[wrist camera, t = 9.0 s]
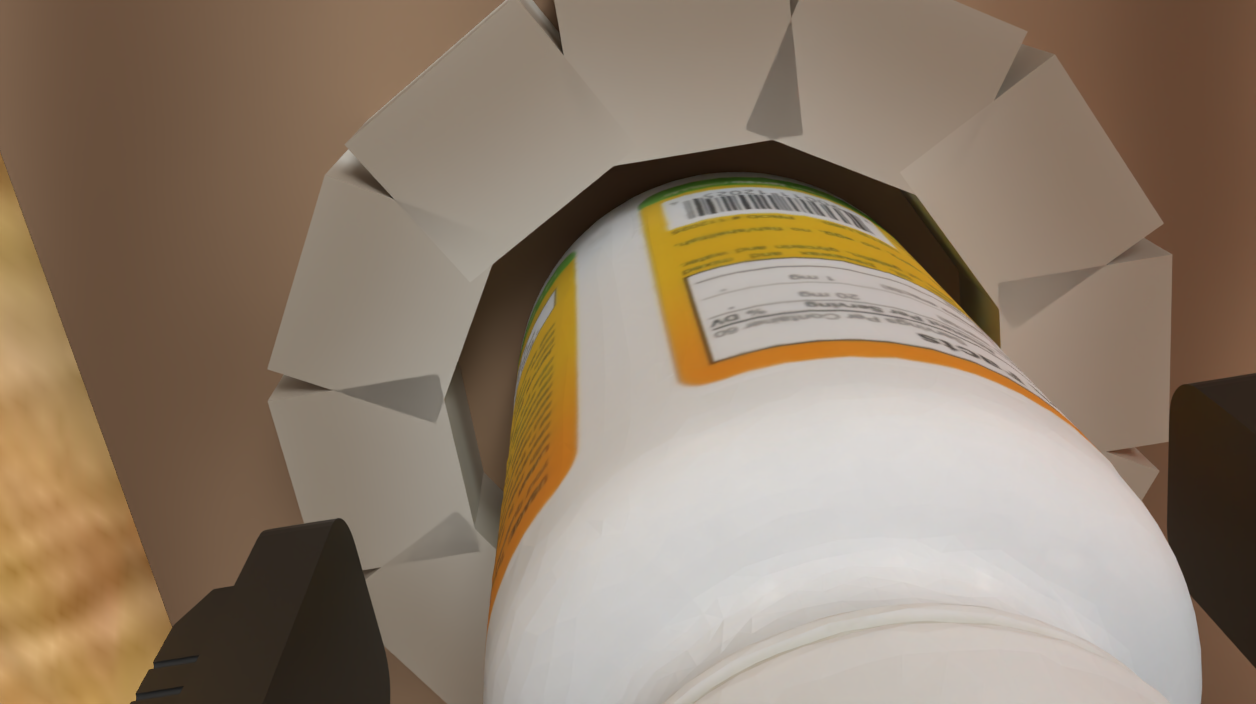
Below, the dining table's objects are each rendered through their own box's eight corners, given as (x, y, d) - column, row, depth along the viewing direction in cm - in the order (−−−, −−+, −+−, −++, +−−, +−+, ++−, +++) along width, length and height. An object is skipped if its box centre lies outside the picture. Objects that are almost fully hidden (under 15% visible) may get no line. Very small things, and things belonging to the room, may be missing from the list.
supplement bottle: (672, 613, 16) (795, 1498, 7) (433, 326, 15) (203, 1021, 6) (1004, 407, 15) (1621, 1130, 6) (789, 74, 14) (1214, 412, 5)
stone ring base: (1268, -402, 14) (1484, -498, 11) (1222, 680, 20) (1351, 834, 16) (-32, -180, 14) (-215, -204, 11) (304, 823, 20) (252, 1002, 17)
